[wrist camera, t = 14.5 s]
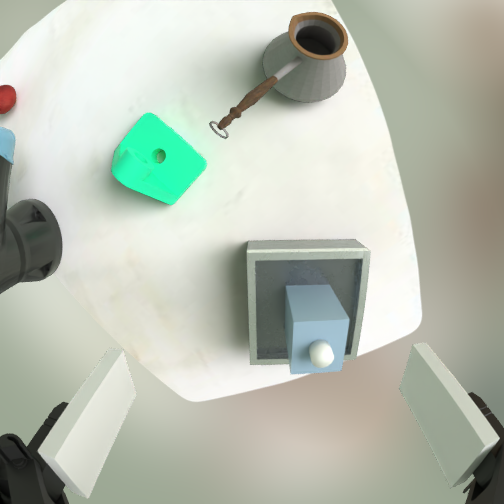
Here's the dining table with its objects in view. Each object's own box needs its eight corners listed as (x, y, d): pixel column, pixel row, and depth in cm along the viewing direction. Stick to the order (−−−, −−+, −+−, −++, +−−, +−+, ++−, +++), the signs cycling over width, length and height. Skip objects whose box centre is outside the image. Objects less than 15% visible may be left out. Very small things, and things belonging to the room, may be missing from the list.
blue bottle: (284, 330, 41) (292, 385, 29) (285, 285, 39) (295, 331, 27) (325, 329, 41) (345, 381, 29) (329, 284, 39) (354, 328, 27)
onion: (3, 110, 36) (-24, 107, 29) (14, 84, 35) (-11, 78, 27) (15, 119, 37) (-13, 116, 29) (27, 92, 36) (0, 86, 28)
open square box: (251, 341, 47) (250, 364, 41) (248, 240, 43) (246, 252, 36) (345, 337, 47) (355, 359, 40) (355, 239, 42) (370, 250, 36)
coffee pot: (296, 26, 34) (312, -29, 19) (355, 73, 35) (396, 35, 21) (199, 121, 38) (169, 96, 24) (260, 172, 40) (262, 172, 26)
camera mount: (211, 164, 40) (196, 161, 30) (176, 203, 42) (151, 213, 32) (154, 112, 38) (125, 98, 28) (122, 151, 40) (86, 148, 30)
